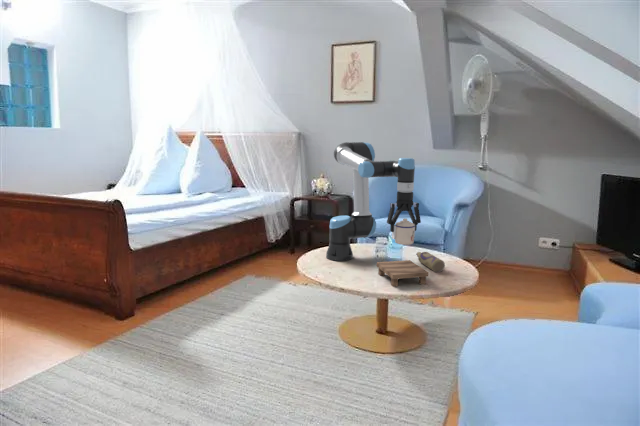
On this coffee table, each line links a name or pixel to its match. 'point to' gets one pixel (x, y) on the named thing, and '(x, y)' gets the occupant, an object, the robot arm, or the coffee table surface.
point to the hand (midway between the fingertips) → (403, 238)
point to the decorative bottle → (431, 261)
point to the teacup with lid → (404, 232)
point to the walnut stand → (402, 271)
